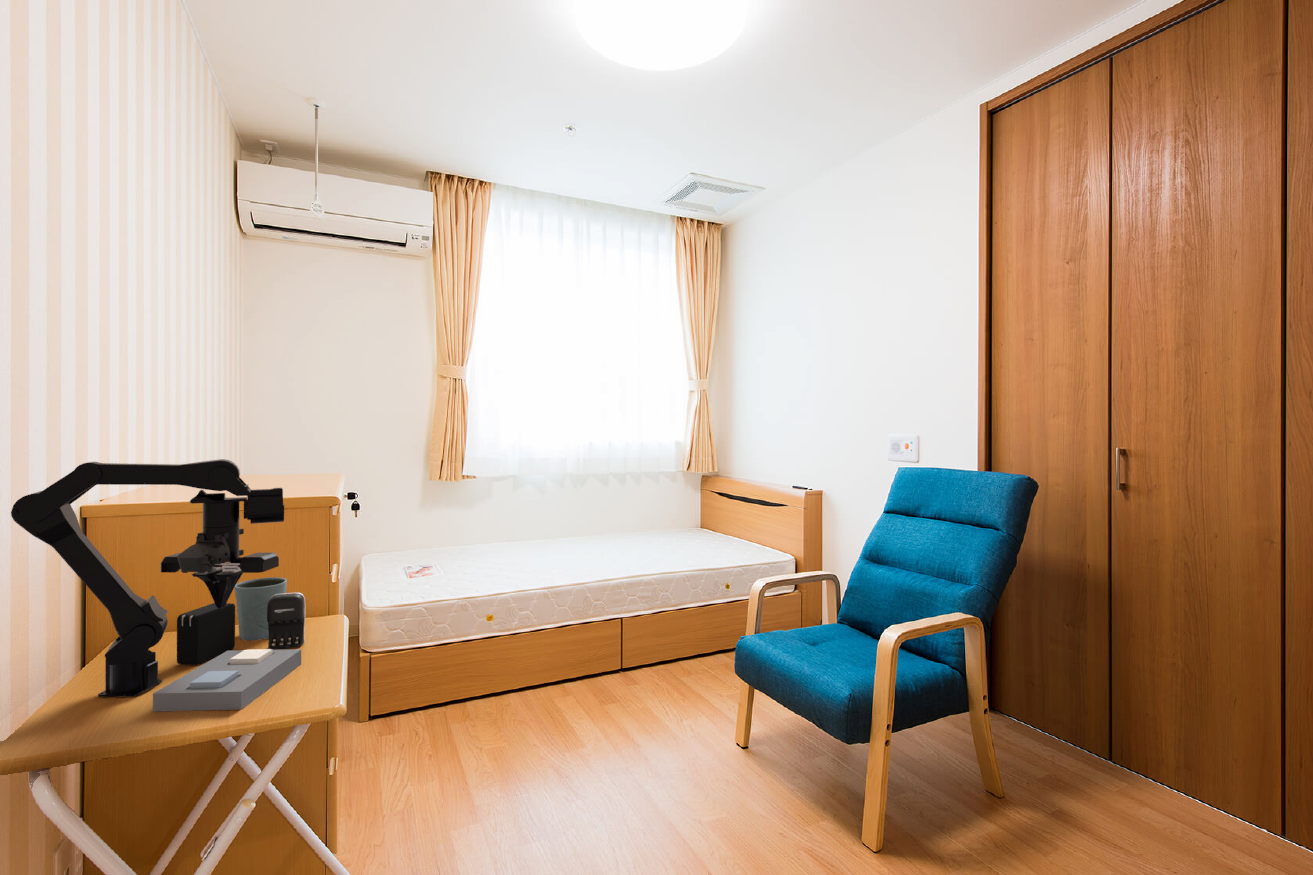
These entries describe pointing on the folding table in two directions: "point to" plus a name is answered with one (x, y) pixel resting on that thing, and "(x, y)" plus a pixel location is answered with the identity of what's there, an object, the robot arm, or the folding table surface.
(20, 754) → the folding table surface
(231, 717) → the folding table surface
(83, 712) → the folding table surface
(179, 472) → the robot arm
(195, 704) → the key panel
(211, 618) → the electronic device
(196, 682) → the slate key
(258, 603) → the teal cup
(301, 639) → the battery charger
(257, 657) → the ivory key
